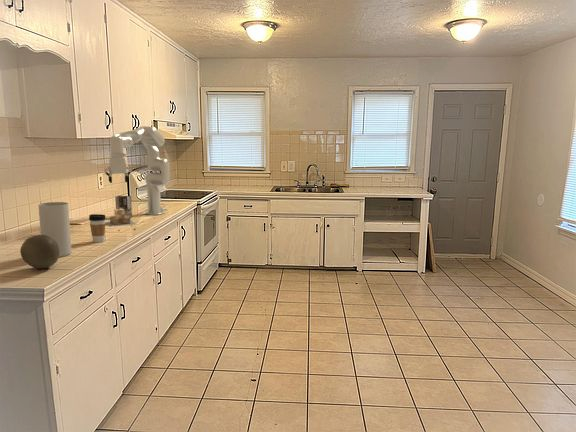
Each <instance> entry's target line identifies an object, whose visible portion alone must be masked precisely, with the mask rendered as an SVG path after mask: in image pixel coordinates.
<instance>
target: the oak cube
mask: <svg viewBox="0 0 576 432" xmlns="http://www.w3.org/2000/svg"><path fill="white" fill-rule="evenodd" d="M113 212H114V213H113V214H114V216H115V217H116V218H122V217H125V214H124V209H116V208H114V211H113Z"/></svg>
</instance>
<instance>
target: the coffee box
mask: <svg viewBox="0 0 576 432" xmlns="http://www.w3.org/2000/svg"><path fill="white" fill-rule="evenodd" d="M114 201H115V209H124V214H125V215H126V216H128V217H130V218H132V217H133V211H132V209H133V207H132V196H131V195H117V196H115V199H114Z"/></svg>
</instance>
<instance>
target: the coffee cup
mask: <svg viewBox="0 0 576 432" xmlns="http://www.w3.org/2000/svg"><path fill="white" fill-rule="evenodd" d="M88 217H89V218H88V220H89V226H90V232H91V238H92V243H95V244H96V243H98V244H99V243H104V242H105V239H106V238H105V236H106V224H105V222H106V220H107V219H106V215H105V214H95V213H94V214H92V213H91V214H89V216H88Z"/></svg>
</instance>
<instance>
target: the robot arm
mask: <svg viewBox="0 0 576 432" xmlns="http://www.w3.org/2000/svg"><path fill="white" fill-rule="evenodd" d="M140 141H141V144H143V146H144V148H145V149H146V152H147V168H148V170H150V171H154V172H148V173H147V174H146V175H145V178H144V179H145V183H146V192H147V211H146V212H145V215H149V216H156V215H157V216H159V215H163V214H164V212H167V211H168V208H167V207H165V208H164V207H161V205H162V203H161V190H160V189H161V188H160V186H163V187H165V186H168V184H169V182H170V162H169V160H168V159H167V158H165V157H164V158H163V157H162V158H161V157H160V150H159V148H158V147H163V146H164V145H165V142H166V141H165V137H164V135H163V134H162V133H161V132H160V131H159V130H158V129H157V128H156V127H154V126H143V125H142V126H139V127H136V128H135V129H133V130H128V131H124V132H119V133H116V134H114V135H112V136H110V139H109V143H110V144H109V145H110V157H109V161H108V167H107V168H104V169H103V172H104V173H105V175H106V176H107V177H108V182H109V183H110V184H111V183H113V177H112V175H114V174H124V183H128V181H129V176H130V175H131V173H132V171H133V169H132V168H130V167H128V166H127V161H126V158H125V157H127V154H126V153H125V152H124V148H127V149H129V148H131V147H133V145H134V144H136V143H139V142H140ZM127 170H128V171H127ZM155 171H156V172H155Z"/></svg>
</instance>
